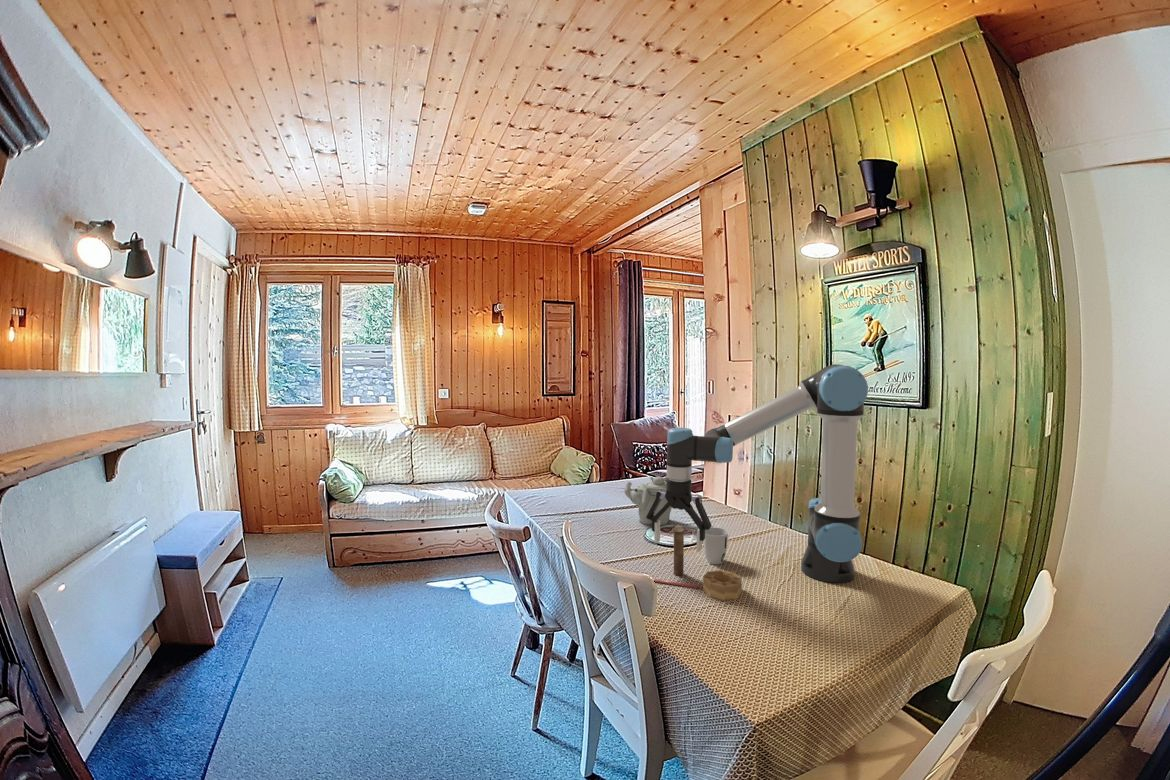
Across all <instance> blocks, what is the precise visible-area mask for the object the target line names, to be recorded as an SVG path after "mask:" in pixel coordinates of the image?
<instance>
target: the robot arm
mask: <svg viewBox="0 0 1170 780" xmlns="http://www.w3.org/2000/svg"><path fill="white" fill-rule="evenodd" d="M868 393H869V385H868V382H867V380H866V378H865V376H864V374H863V373H861V372H860V371H859V370H858V369H856V368H854V367H852V366H850V365H843V364H829V365H827V366H825V367H823V368H821V369H820V370H818V371H817V372H815V373H814V374H811V375H810V376H808V377H807V378H805V379H803V380H801V381H800V382H799V385H798V386H797V387H795V388H793V389H791V390H789V391H787V392H784V393H783V394H781V395H779V396H777V397H776V398H773V399H771V400H770V401H767V402H765V403H763V404H762V405H759V406H757V407H755V408H754V409H751V410H750V411H747V412H745V413H743V414H741V415H739V416H737V417H734V419H732V420H729V421H728V422H726V423H724V424H722V425H720V426H718V427H715V428H711V429H710V430H708V431H707V432H706V433H705V434H704V436H703V435H694V434H693V430H692V429H690V428H687V427H673V428H670V429H669V430H668V431H667V442H666V477H667V478H668V479H667V480H666V479H665V481H666V493H665V492H663V491H662V490H660V491H658V492H657V493H656V499H655V501H654V503H653V505H652V507H651V509H650V510H649V512H648V514H647V516H646V518H647V519H650V520H651V521H652V524H651V532H653V533H654V538H653V539H654V541H653V542H654V544H658V543H659V542H660V540H661V526H660V521H659V520H658V519H659V517H660V516H661V515H662V514H663V513H664V512H665V511H666V510H667V509H668V508H669V507H670V506H671V507H672V509H673V510H674V509H675V510H680V511H685V512H686V513H687V514H688V515H689V517H690V518H691V520H692V521H693V523H694V524H695V525H696V527H697V528H698V529H697V530H696V552H697V553H699V552H700V551H702V547H703V540H704V539H705V530H709V529H710V528H711V527H712V523H711V521H710V519H709V516H708V513H707V512H706V510H705V506H704V504H703V502H702V496H700V495H698V496H692V495H693V494H692V469H693V468H692V467H693V466H692V464H693V462H694V461H695V462H705V463H706V462H709V463H719V464H724V463H729V464H730V463H731V462H732V461H733V459H734V457H733V455H734V447H735V446H737V445H738V444H741V443H743V442H745V441H746V440H747V441H748V440H749V439H751V438H753V437H755V436H757V435H760V434H761V433H763V432H765V431H767V430H769V429H771V428H774V427H775V426H778V425H780V424H781V423H784V422H786V421H788V420H790V419H792V418H794V417H797V416H798V415H800V414H802V413H805V412H807V411H809V410H811V409H813V410H817V411H816V414H817V415H818V416H819V417H820V418H821V419H822V437H821V467H820V468H821V470H820V471H821V472H820V497H814V498H811V499H810V500H809V501H808V507H807V509H808V517H807V518H808V519H807V520H808V521H807V522H808V523H807V546H806V549H805V551H804V554H803V557H802V559H801V563H800V570H801V571H802V572H803V573H804V575H805V576H808V577H810V578H811V579H814V580H818V581H822V582H827V583H834V584H835V583H836V584H838V583H839V584H840V583H848V582H852V581H853V580H854V579H855V576H856V575H855V574H856V569H855V566H854V563H853V560H854V559H855V558H856V557H858V556H859V555H860V553H861V552H862V549H863V539H862V538H863V537H862V535H861V533H860V522H861V521H860V520H861V518H860V517H861V516H860V515H861V512H860V511H859V509H858V508H856V507H855V492H856V490H855V488H856V487H855V486H856V457H857V437H858V436H857V434H858V433H857V430H858V421H859V420H860V419H862V418H863V417H864V413H865V412H864V410H865V401H866V400H867V397H868ZM664 497H665V498H666V500H667V501H668V502H667V503H666V505H665V506H664V507H663V508H662V509H661V510H660V511H659V512H658V513H657V514H656V515H655V516H654V515H653V514H654V513H655V511H656V509H657V507H658V505H659V503H660V501H661V499H663V498H664ZM691 502H693V504H694V505H695V508H696V510H697V512H698V513H697V512H696V511H695V508H694V507H693V505H692V503H691ZM698 514H699V515H698ZM657 520H658V521H657Z"/></svg>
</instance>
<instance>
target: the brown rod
mask: <svg viewBox="0 0 1170 780" xmlns="http://www.w3.org/2000/svg"><path fill="white" fill-rule="evenodd" d="M684 530H685V529H684V528H683V526H682V525H679V524H678V525H675V527H674V529H673V575H674V576H676V577H682V576H684V572H685V571H684V570H685V569H684V565H685V564H684V563H685V562H684V560H685V559H684V557H685V556H684V555H685V553H684V552H685V551H684V550H685V549H684V548H685V546H684V545H685V544H684V542H685V541H684V540H685V538H684V537H685V535H684V534H685V533H684V532H685V531H684Z"/></svg>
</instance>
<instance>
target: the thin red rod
mask: <svg viewBox="0 0 1170 780" xmlns="http://www.w3.org/2000/svg"><path fill="white" fill-rule="evenodd" d="M653 579H654V581H655V582H654V583H658V584H664V585H665V584H666V585H667V584H668V585H674V586H679V587H686V588H693V589H701V585H698V584H691V583H683V582H676V581H669V580H663V579H656V578H653Z"/></svg>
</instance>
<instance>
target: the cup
mask: <svg viewBox="0 0 1170 780" xmlns="http://www.w3.org/2000/svg"><path fill="white" fill-rule="evenodd" d="M728 536H729V531H728V530H727V529H725V528H721V527H711V528H710V529H709V530H705V539H704V540H703V541H702V546H703V549H704V555H705V558H706V561H707V563H709V564H712V565H721V564H723V563H724V560H725V557H726V553H727V547H728V538H729V537H728Z"/></svg>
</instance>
